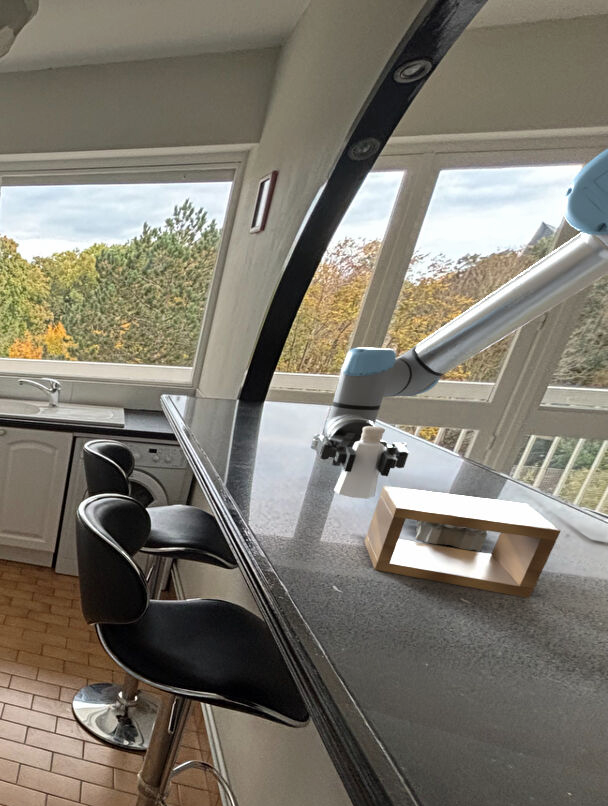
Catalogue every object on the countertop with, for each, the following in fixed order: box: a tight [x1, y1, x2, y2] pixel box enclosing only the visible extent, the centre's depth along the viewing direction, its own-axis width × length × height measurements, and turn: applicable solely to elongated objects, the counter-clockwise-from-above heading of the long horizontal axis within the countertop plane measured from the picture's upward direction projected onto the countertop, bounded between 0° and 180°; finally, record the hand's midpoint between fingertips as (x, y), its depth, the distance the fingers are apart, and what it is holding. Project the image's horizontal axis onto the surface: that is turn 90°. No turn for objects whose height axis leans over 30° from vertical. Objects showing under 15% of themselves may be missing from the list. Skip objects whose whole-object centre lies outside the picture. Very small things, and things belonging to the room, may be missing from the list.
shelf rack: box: [364, 485, 562, 599], centre depth 73 cm, size 14×11×8 cm
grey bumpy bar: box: [415, 520, 488, 552], centre depth 83 cm, size 11×8×4 cm
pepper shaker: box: [333, 425, 386, 499], centre depth 95 cm, size 5×5×11 cm
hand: (368, 465), depth 91 cm, fingers closed on pepper shaker, 4 cm apart
